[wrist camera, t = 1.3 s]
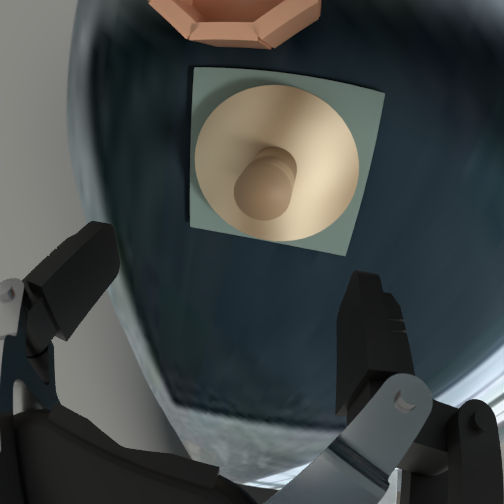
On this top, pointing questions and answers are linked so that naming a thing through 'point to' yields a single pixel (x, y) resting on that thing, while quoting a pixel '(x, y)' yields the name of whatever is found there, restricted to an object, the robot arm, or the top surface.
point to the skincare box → (390, 490)
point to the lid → (277, 163)
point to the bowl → (239, 20)
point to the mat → (334, 93)
